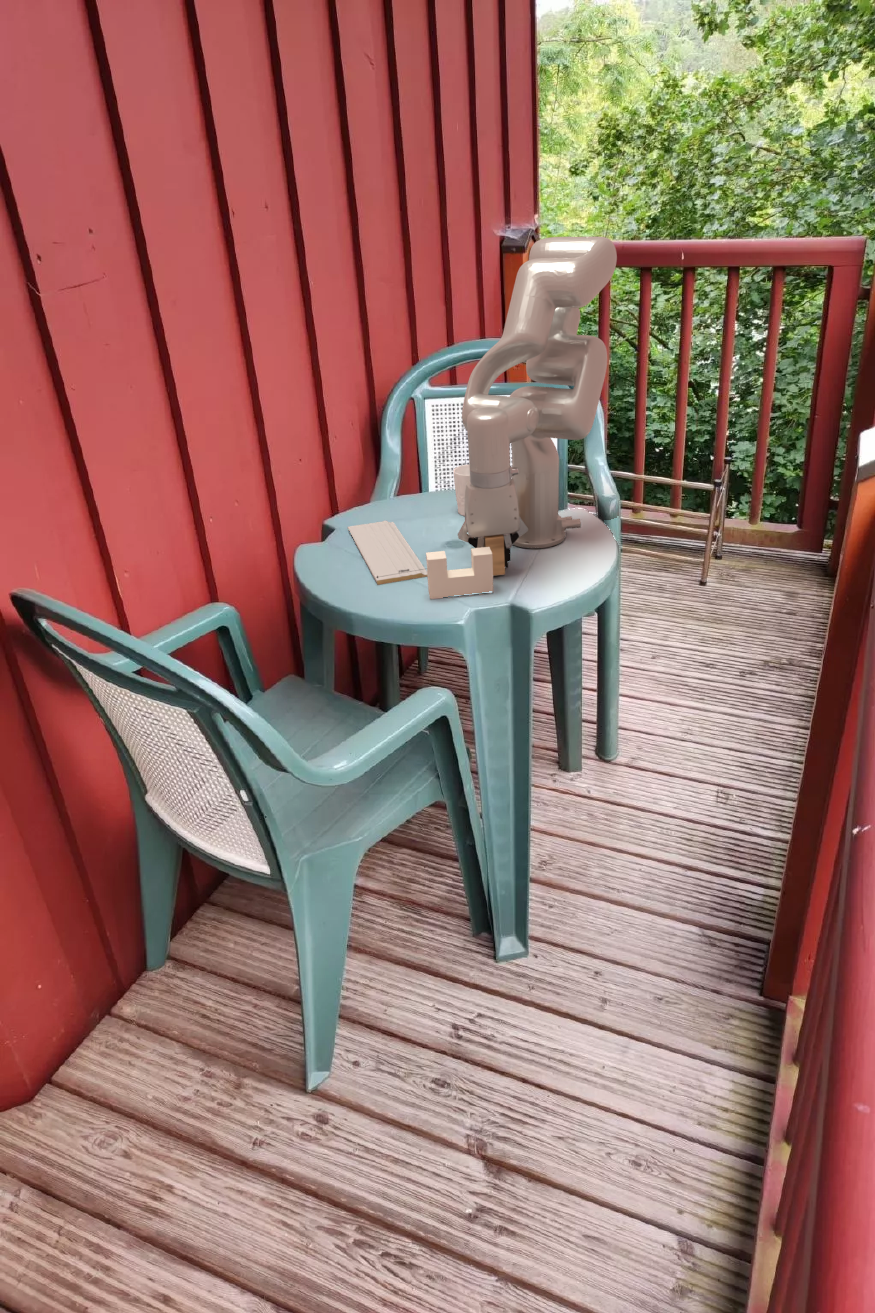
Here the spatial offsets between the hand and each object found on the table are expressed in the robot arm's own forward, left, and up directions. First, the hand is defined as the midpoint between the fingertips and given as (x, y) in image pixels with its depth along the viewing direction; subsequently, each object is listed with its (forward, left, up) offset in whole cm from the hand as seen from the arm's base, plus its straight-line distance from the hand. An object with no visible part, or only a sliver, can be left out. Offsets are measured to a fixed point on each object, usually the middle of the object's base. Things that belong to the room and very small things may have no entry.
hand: (494, 564), depth 176 cm
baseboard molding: (+20, -16, -3) cm, 26 cm away
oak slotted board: (0, -7, -1) cm, 7 cm away
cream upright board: (+8, +7, -2) cm, 10 cm away
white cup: (0, -35, -2) cm, 35 cm away
